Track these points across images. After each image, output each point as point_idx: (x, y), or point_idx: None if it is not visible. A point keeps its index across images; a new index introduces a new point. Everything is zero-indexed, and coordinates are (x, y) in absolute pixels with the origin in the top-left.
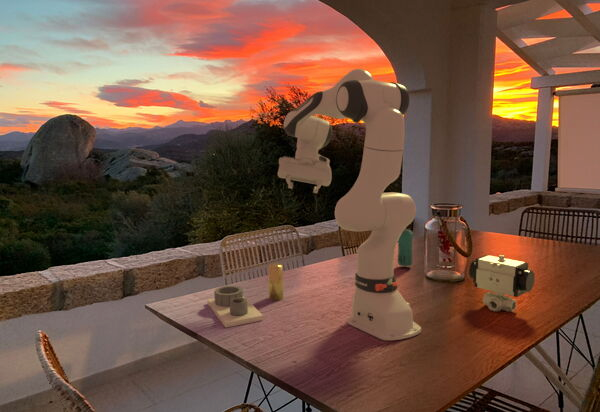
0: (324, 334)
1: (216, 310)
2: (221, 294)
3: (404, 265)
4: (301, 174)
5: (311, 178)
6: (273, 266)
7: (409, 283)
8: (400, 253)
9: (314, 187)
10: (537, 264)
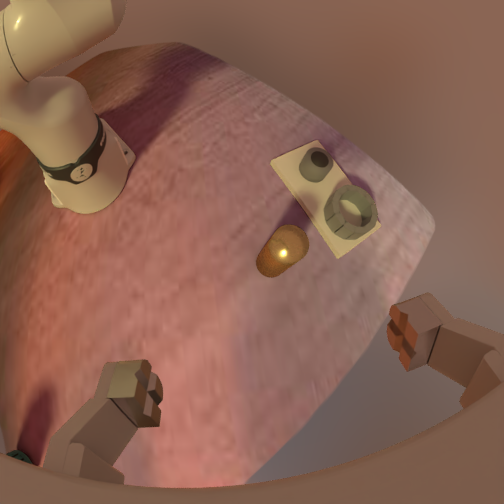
0: (173, 126)
1: (348, 180)
2: (357, 187)
3: (21, 452)
4: (395, 478)
5: (168, 489)
6: (293, 231)
7: (13, 361)
8: None
9: (135, 384)
10: None
